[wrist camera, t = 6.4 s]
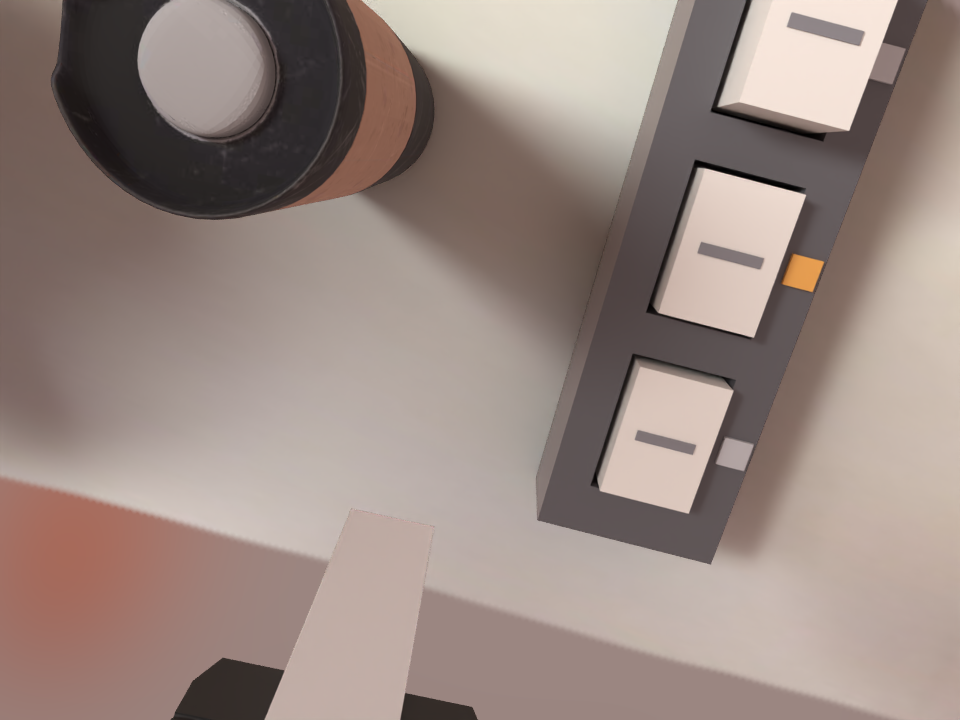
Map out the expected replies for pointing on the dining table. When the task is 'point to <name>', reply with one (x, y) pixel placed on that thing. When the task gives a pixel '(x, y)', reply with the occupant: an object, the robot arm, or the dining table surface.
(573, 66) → the dining table surface
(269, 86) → the travel mug
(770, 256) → the button
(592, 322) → the power strip
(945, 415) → the dining table surface
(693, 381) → the button
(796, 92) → the button
